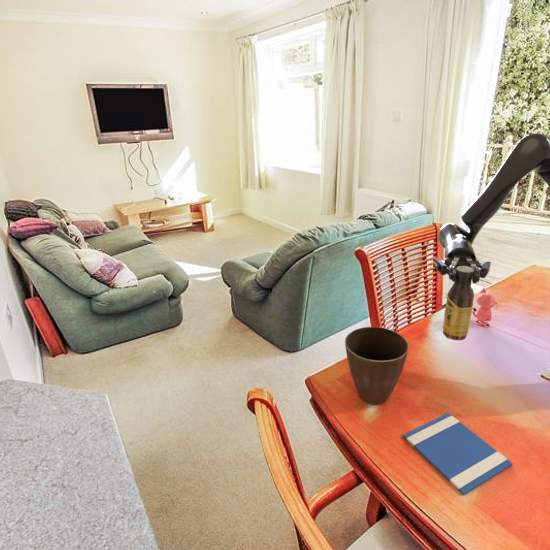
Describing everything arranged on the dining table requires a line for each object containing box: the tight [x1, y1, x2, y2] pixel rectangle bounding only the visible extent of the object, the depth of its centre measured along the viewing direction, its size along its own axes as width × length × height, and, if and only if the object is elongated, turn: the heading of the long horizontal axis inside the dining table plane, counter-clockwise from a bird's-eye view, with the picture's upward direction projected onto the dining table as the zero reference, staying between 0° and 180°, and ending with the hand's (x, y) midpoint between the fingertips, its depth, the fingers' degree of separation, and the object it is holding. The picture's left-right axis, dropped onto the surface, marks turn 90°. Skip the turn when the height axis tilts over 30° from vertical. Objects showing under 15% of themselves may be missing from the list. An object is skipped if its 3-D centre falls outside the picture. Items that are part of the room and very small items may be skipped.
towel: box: [402, 412, 513, 496], centre depth 80 cm, size 14×16×1 cm
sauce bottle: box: [442, 266, 475, 341], centre depth 97 cm, size 6×6×20 cm
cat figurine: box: [471, 287, 498, 328], centre depth 123 cm, size 7×7×12 cm
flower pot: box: [344, 326, 410, 405], centre depth 94 cm, size 15×15×16 cm
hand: (464, 278), depth 91 cm, fingers closed on sauce bottle, 4 cm apart
